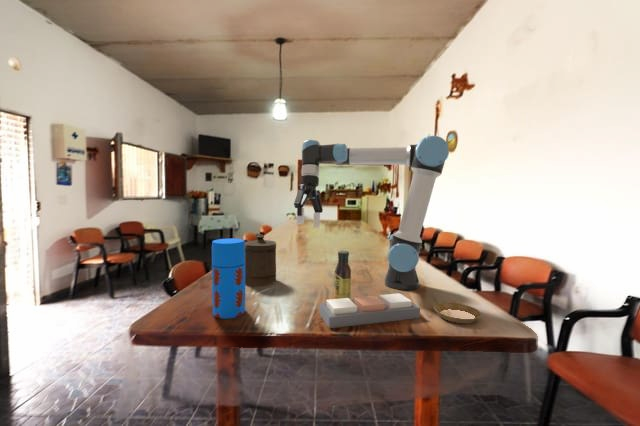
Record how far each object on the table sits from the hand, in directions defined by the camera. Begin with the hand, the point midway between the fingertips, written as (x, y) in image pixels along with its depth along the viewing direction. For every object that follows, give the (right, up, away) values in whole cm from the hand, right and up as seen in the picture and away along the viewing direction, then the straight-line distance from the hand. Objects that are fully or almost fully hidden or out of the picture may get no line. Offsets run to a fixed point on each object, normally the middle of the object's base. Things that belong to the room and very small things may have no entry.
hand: (308, 226), depth 128 cm
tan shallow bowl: (+51, -31, -23) cm, 64 cm away
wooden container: (-23, -27, +14) cm, 38 cm away
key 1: (+12, -27, -26) cm, 39 cm away
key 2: (+31, -27, -21) cm, 46 cm away
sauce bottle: (+13, -29, -12) cm, 34 cm away
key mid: (+21, -27, -24) cm, 42 cm away
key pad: (+21, -30, -23) cm, 43 cm away
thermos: (-27, -29, -22) cm, 45 cm away
